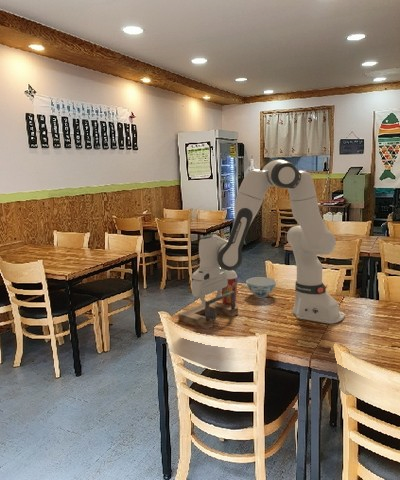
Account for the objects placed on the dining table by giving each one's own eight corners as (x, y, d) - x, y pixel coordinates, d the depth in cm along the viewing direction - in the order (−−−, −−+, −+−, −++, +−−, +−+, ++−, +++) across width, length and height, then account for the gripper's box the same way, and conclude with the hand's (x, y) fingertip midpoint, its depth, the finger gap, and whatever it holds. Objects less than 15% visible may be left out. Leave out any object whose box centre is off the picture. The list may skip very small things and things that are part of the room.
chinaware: (280, 293, 211) (280, 279, 209) (269, 302, 198) (269, 287, 197) (253, 289, 219) (253, 275, 217) (241, 297, 206) (241, 283, 205)
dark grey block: (218, 317, 181) (218, 305, 180) (211, 320, 177) (211, 308, 176) (209, 314, 184) (209, 302, 183) (202, 318, 181) (202, 306, 180)
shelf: (237, 313, 184) (237, 290, 182) (206, 329, 168) (205, 303, 166) (211, 306, 195) (210, 283, 193) (178, 320, 179) (177, 295, 176)
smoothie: (240, 301, 201) (239, 262, 197) (234, 306, 193) (233, 266, 189) (224, 299, 204) (223, 260, 200) (218, 304, 197) (217, 264, 193)
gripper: (219, 265, 187) (220, 293, 189) (188, 275, 172) (190, 306, 175) (230, 267, 182) (231, 296, 185) (199, 278, 168) (201, 309, 170)
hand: (211, 301), depth 180 cm, fingers open, 8 cm apart
